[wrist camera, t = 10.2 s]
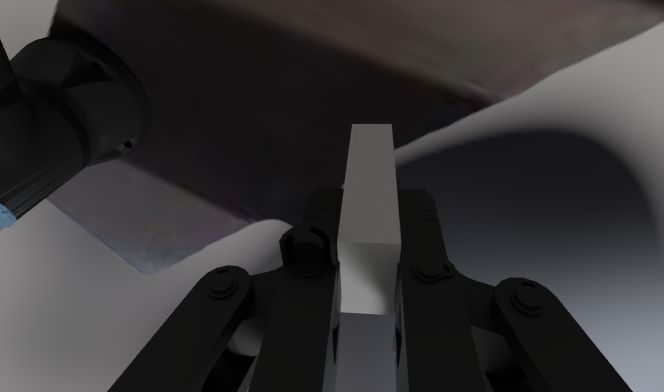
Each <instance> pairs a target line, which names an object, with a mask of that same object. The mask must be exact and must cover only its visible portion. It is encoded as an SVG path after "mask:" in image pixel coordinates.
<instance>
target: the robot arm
mask: <svg viewBox="0 0 664 392" xmlns="http://www.w3.org/2000/svg"><path fill="white" fill-rule="evenodd" d="M150 123H151V117H150V109H149V105H148V102H147V99H146V96H145V94H144V92H143V90H142V88H141V86H140V85H139V83H138V81H137V80H136V78H135V77H134V76H133V74H132V73H131V72H130V71H129V69H128V68H127V67H126V66H125V65H124V64H123V63H122V62H121V61H120V60H119V59H118V58H117V57H115V56H114V55H113V54H112V53H110V52H109V51H108V50H106V49H105V48H103V47H101V46H100V45H98V44H96V43H94V42H92V41H90V40H87V39H85V38H82V37H78V36H74V35H67V34H58V35H53V36H49V37H45V38H42V39H38V40H35V41H33V42H31V43H29V44H28V45H26V46H25V47H24V48H23V49H22V50H21V51H20V52H19V53H17V54H16V55H15V56H14V57H13V58H12V59H11V60H10V61H9V59H8V56H7V54H6V52H5V49H4V48H3V45H2V42H1V40H0V231H1V230H2V229H4V228H6V227H10V226H12V225H13V224H14V223H15V222H16V220H18V219H19V218H20V217H22V216H23V215H24V214H25V213H27V212H28V211H30V210H31V209H32V208H33V207H35V206H36V205H37V204H39V203H40V202H41V201H42V200H44V199H45V198H46V197H48V196H49V195H50V194H52V193H53V192H54V191H55V190H57V189H58V188H59V187H61V186H62V185H63V184H64V183H66V182H67V181H68V180H70V179H71V178H72V177H74V176H75V175H76V174H77V173H79V172H80V171H81V170H83V169H84V168H86V167H89V166H92V165H96V164H100V163H103V162H107V161H110V160H114V159H118V158H121V157H123V156H125V155H127V154H129V153H130V152H132V151H133V150H134V149H136V148H137V147H138V146H139V145H140V144H142V142H143V141H144V140H145V139H146V137H147V135H148V133H149V129H150ZM279 243H280V249H281V254H282V260H283V266H281V267H279V268H277V269H275V270H272V271H269V272H265V273H261V274H256V275H252V276H250V275H249V274H248V272H247V271H246V270H245V269H243V268H241V267H238V266H229V265H228V266H223V267H219V268H216V269H214V270H212V271H210V272H208V273H207V274H206V275H204V276H203V277H202V278H201V279H200V280H199V281H198V282H197V284H196V285H195V286H194V287H193V289H192V290H191V291H190V292H189V293H188V295H187V296H186V297H185V298H184V299H183V301H182V302H181V303H180V304H179V306H178V307H177V308H176V309H175V310H174V311H173V313H172V314H171V315H170V316H169V318H168V319H167V320H166V321H165V322H164V324H163V325H162V326H161V327H160V328H159V330H158V331H157V332H156V333H155V334H154V336H153V337H152V338H151V340H150V341H149V342H148V343H147V344H146V345H145V347H144V348H143V349H142V350H141V351H140V353H139V354H138V355H137V356H136V358H135V359H134V360H133V361H132V362H131V364H130V365H129V366H128V367H127V368H126V370H125V371H124V372H123V373H122V374H121V376H120V377H119V378H118V379H117V380H116V382H115V383H114V384H113V385H112V387H111V388H110V389H109V390H108V391H107V392H246V391H247V389H248V387H249V385H250V387H249V390H248V392H335V382H336V372H337V360H338V349H339V338H340V310H341V312H350V313H366V314H384V315H394V314H395V331H394V341H393V350H395V364H396V390H397V392H633V391H632V390H631V389H630V388H629V386H628V385H627V384H626V383H625V381H624V380H623V379H622V378H621V376H620V375H619V374H618V373H617V372H616V370H615V369H614V368H613V366H612V365H611V364H610V363H609V362H608V360H607V359H606V358H605V357H604V355H603V354H602V353H601V352H600V351H599V349H598V348H597V347H596V345H595V344H594V343H593V342H592V340H591V339H590V338H589V337H588V336H587V334H586V333H585V332H584V330H583V329H582V328H581V327H580V325H579V324H578V323H577V322H576V321H575V319H574V318H573V317H572V316H571V314H570V313H569V312H568V311H567V310H566V308H565V307H564V306H563V304H562V303H561V302H560V301H559V300H558V298H557V297H556V296H555V295H554V294H553V293H552V292H551V291H550V290H548V289H547V288H546V287H544V286H542V285H541V284H539V283H537V282H535V281H532V280H529V279H525V278H508V279H505V280H502V281H501V282H500V283H499V284H498V285H497V286H496V287H494V286H491V285H488V284H485V283H481V282H478V281H475V280H472V279H470V278H467V277H466V276H464V275H462V274H461V273H459V272H458V271H457V270H456V269H455V267H454V265H453V264H452V263H451V262H450V261H449V260H448V257H447V254H446V249H445V245H444V241H443V237H442V232H441V227H440V223H439V218H438V214H437V209H436V205H435V200H434V198H433V197H432V196H431V195H430V194H429V193H428V192H427V190H426V189H397V185H396V173H395V161H394V149H393V137H392V125H391V124H352V131H351V139H350V146H349V154H348V162H347V170H346V177H345V185H344V189H336V188H317V189H316V190H315V191H314V192H313V193H312V194H311V195H310V196H309V197H308V201H307V205H306V210H305V212H304V216H303V220H302V224H301V225H298V226H296V227H293V228H291V229H289V230H288V231H287V232H286V233H284V234H283V236H282V237H281V239H280V241H279Z"/></svg>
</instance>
